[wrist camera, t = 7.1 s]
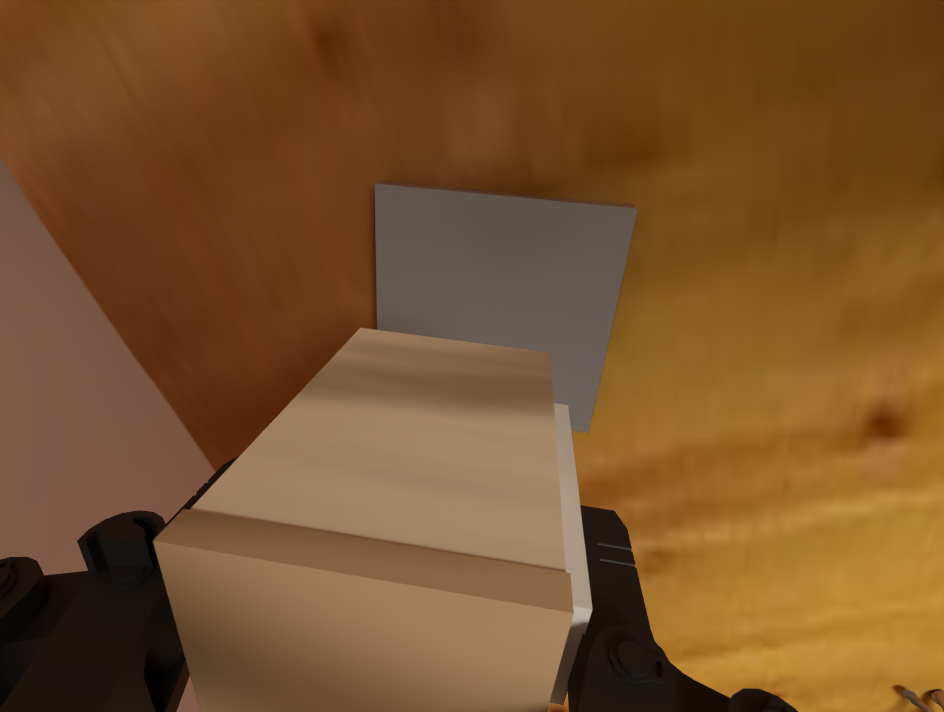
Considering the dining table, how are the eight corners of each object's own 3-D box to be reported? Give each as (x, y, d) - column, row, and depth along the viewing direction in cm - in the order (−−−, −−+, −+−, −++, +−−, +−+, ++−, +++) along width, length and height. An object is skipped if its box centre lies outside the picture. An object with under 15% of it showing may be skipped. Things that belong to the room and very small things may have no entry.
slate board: (382, 181, 26) (374, 183, 25) (633, 205, 25) (638, 208, 24) (384, 393, 33) (378, 403, 31) (586, 420, 31) (588, 432, 30)
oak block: (358, 325, 13) (153, 540, 6) (552, 351, 13) (573, 612, 6) (361, 478, 16) (214, 762, 9) (525, 503, 15) (515, 824, 8)
